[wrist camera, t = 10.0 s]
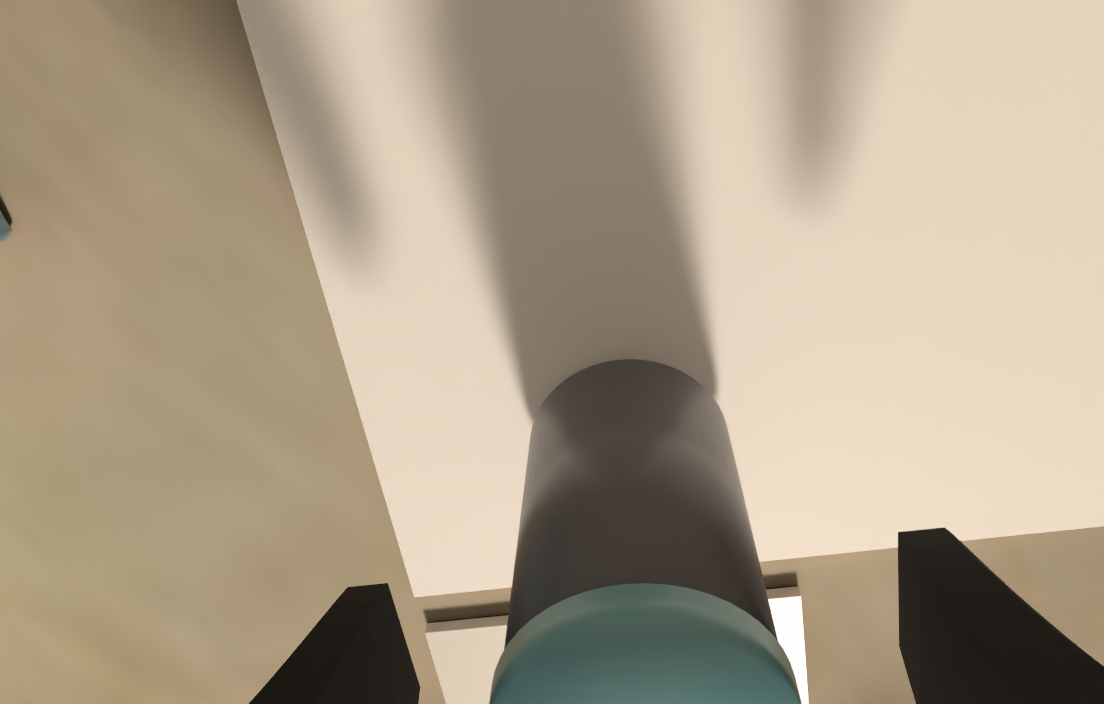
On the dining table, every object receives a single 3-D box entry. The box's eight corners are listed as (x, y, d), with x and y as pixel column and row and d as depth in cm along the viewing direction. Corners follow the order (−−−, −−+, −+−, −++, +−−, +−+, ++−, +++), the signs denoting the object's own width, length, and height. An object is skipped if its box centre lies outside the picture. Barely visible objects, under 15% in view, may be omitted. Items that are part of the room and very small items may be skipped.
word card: (798, 586, 20) (801, 599, 19) (810, 754, 22) (813, 768, 22) (427, 622, 21) (424, 635, 20) (473, 780, 23) (471, 794, 23)
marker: (722, 323, 17) (805, 617, 10) (734, 498, 19) (814, 854, 12) (512, 347, 17) (456, 646, 11) (542, 516, 19) (512, 871, 12)
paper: (1502, -310, 13) (1522, -314, 12) (1323, 493, 18) (1333, 502, 18) (224, -65, 15) (216, -64, 14) (417, 588, 20) (414, 597, 20)
